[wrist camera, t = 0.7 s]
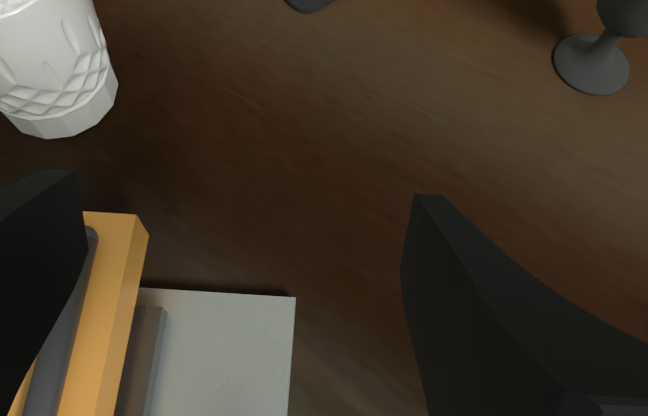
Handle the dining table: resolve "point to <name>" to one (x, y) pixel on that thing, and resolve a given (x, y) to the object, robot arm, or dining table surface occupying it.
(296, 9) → the phone
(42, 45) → the white cup
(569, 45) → the sundae
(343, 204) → the dining table surface
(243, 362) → the server panel
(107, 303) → the cable arm
